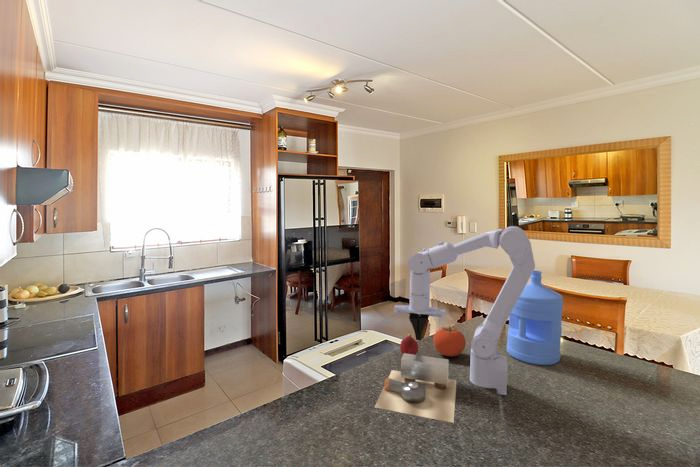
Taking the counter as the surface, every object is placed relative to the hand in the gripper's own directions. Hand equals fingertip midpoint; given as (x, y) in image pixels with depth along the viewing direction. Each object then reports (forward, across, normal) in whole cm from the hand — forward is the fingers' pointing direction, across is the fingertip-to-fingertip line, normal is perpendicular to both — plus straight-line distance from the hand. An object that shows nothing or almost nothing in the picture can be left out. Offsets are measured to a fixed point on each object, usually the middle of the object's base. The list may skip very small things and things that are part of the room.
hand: (418, 339), depth 102 cm
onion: (+10, +4, -8) cm, 13 cm away
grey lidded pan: (+9, +1, +16) cm, 18 cm away
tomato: (+10, -8, -15) cm, 20 cm away
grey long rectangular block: (+7, -3, +9) cm, 12 cm away
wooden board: (+10, -2, +14) cm, 17 cm away
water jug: (+10, -34, -24) cm, 43 cm away
